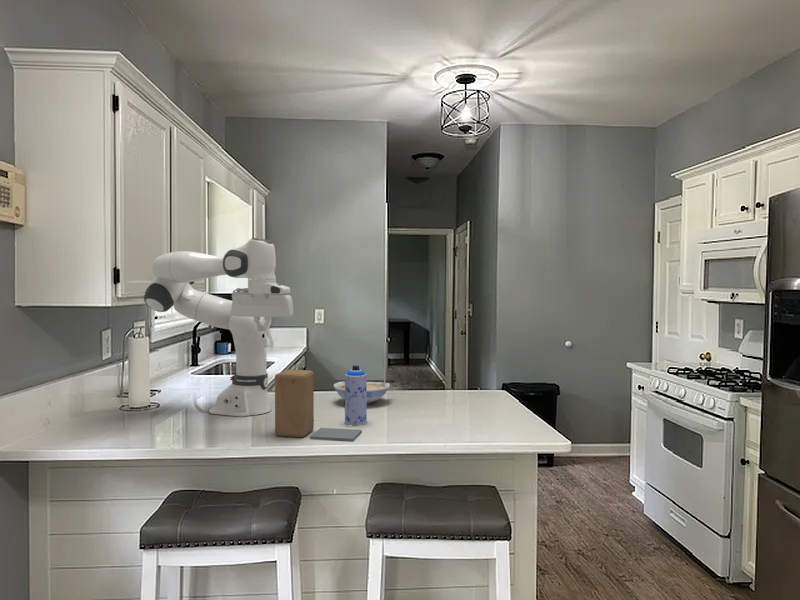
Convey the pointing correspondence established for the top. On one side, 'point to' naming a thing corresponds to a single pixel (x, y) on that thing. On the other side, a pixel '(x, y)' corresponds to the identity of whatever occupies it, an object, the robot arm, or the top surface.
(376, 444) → the top surface
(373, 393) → the ramen bowl
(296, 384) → the wooden block
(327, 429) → the mat
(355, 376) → the aerosol can
